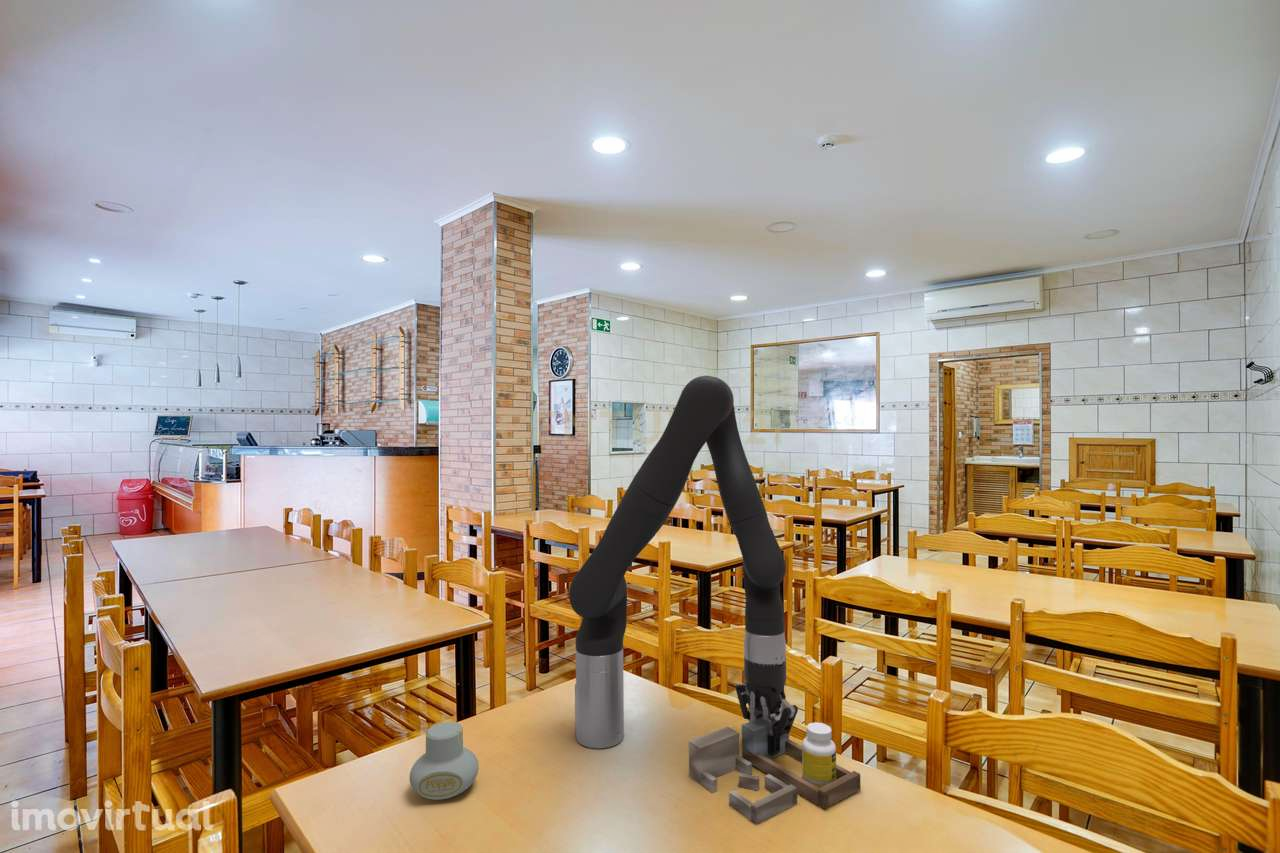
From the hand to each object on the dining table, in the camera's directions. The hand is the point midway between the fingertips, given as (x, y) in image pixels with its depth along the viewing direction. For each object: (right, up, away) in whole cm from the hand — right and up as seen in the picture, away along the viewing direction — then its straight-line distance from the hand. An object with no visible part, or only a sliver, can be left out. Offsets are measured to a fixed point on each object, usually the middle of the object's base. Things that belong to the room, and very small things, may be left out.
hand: (765, 749), depth 112 cm
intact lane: (+4, -1, -6) cm, 8 cm away
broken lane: (-6, -1, -10) cm, 12 cm away
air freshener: (-55, -2, -10) cm, 56 cm away
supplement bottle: (+7, -1, -10) cm, 12 cm away
